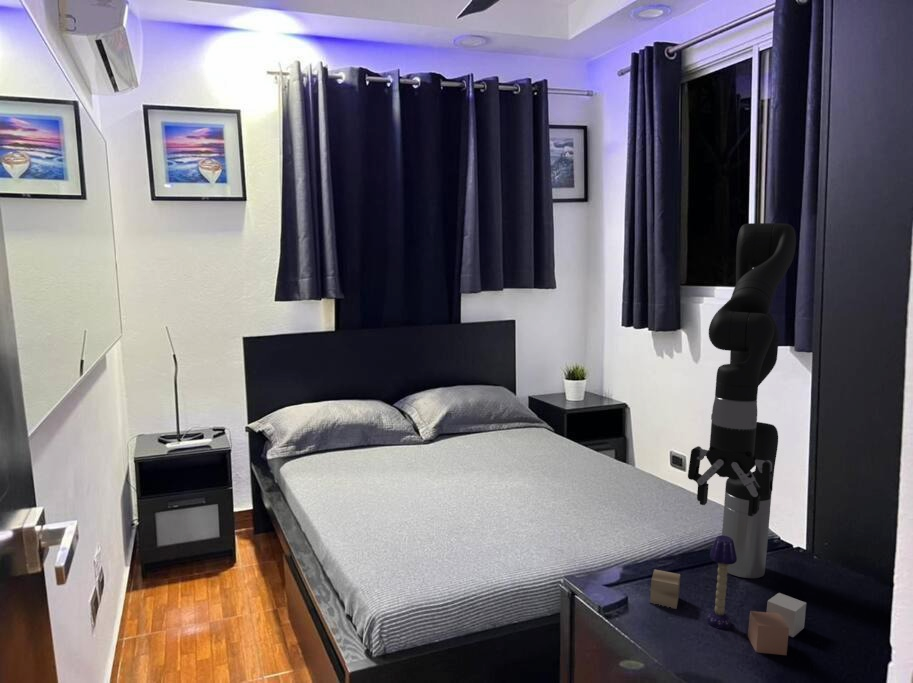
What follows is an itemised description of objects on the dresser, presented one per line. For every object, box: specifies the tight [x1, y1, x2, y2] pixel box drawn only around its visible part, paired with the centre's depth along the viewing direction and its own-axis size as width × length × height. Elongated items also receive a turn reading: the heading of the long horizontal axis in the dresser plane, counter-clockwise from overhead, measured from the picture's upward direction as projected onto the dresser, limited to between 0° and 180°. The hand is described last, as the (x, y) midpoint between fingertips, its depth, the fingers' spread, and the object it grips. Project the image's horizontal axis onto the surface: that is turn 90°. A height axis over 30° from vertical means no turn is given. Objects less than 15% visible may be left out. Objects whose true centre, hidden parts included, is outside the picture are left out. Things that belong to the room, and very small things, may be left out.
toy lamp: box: [706, 534, 737, 630], centre depth 126 cm, size 5×5×17 cm
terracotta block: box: [747, 610, 789, 656], centre depth 120 cm, size 5×5×5 cm
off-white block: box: [766, 592, 807, 638], centre depth 126 cm, size 5×5×5 cm
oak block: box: [649, 569, 681, 610], centre depth 135 cm, size 5×5×5 cm
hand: (726, 509), depth 125 cm, fingers open, 8 cm apart
